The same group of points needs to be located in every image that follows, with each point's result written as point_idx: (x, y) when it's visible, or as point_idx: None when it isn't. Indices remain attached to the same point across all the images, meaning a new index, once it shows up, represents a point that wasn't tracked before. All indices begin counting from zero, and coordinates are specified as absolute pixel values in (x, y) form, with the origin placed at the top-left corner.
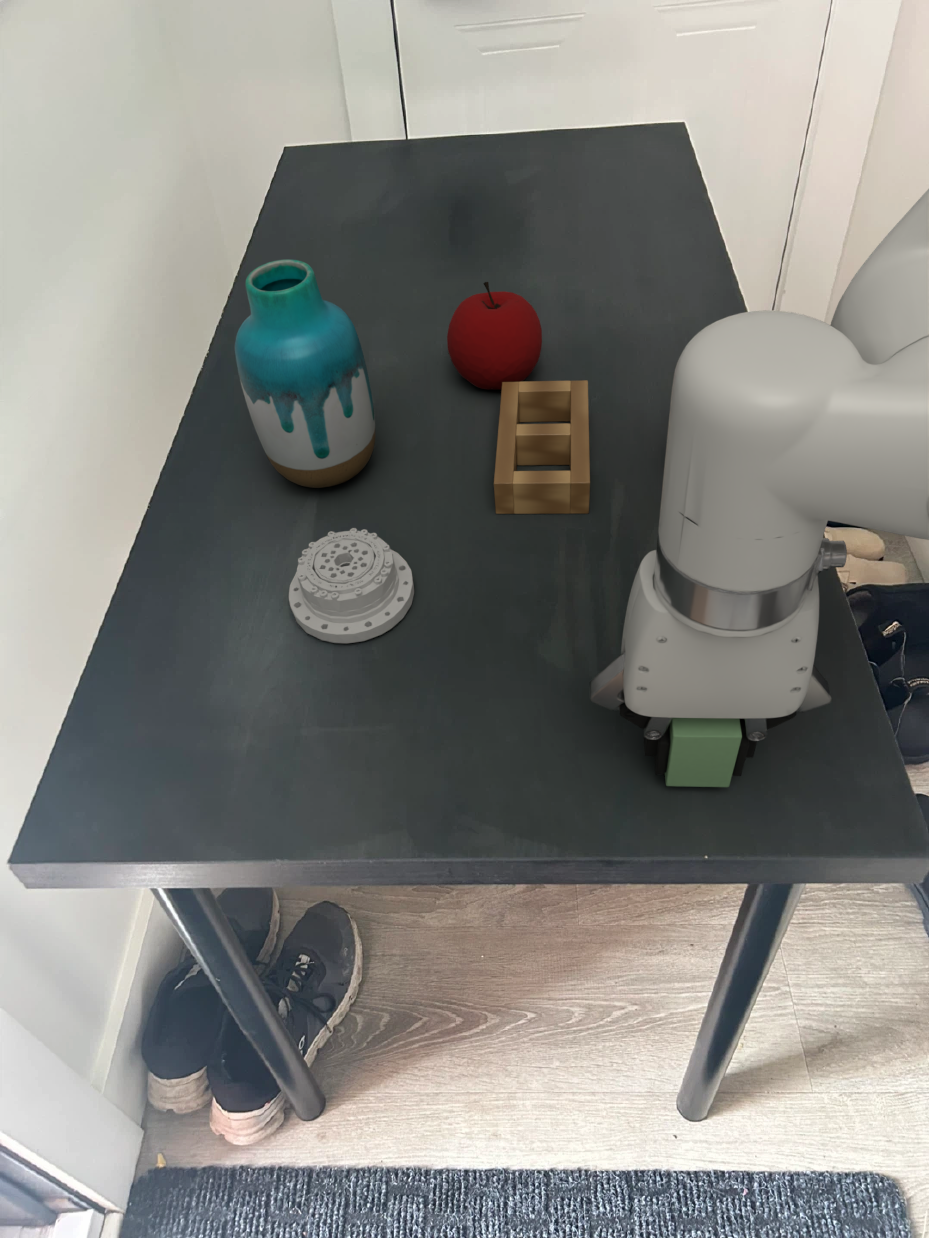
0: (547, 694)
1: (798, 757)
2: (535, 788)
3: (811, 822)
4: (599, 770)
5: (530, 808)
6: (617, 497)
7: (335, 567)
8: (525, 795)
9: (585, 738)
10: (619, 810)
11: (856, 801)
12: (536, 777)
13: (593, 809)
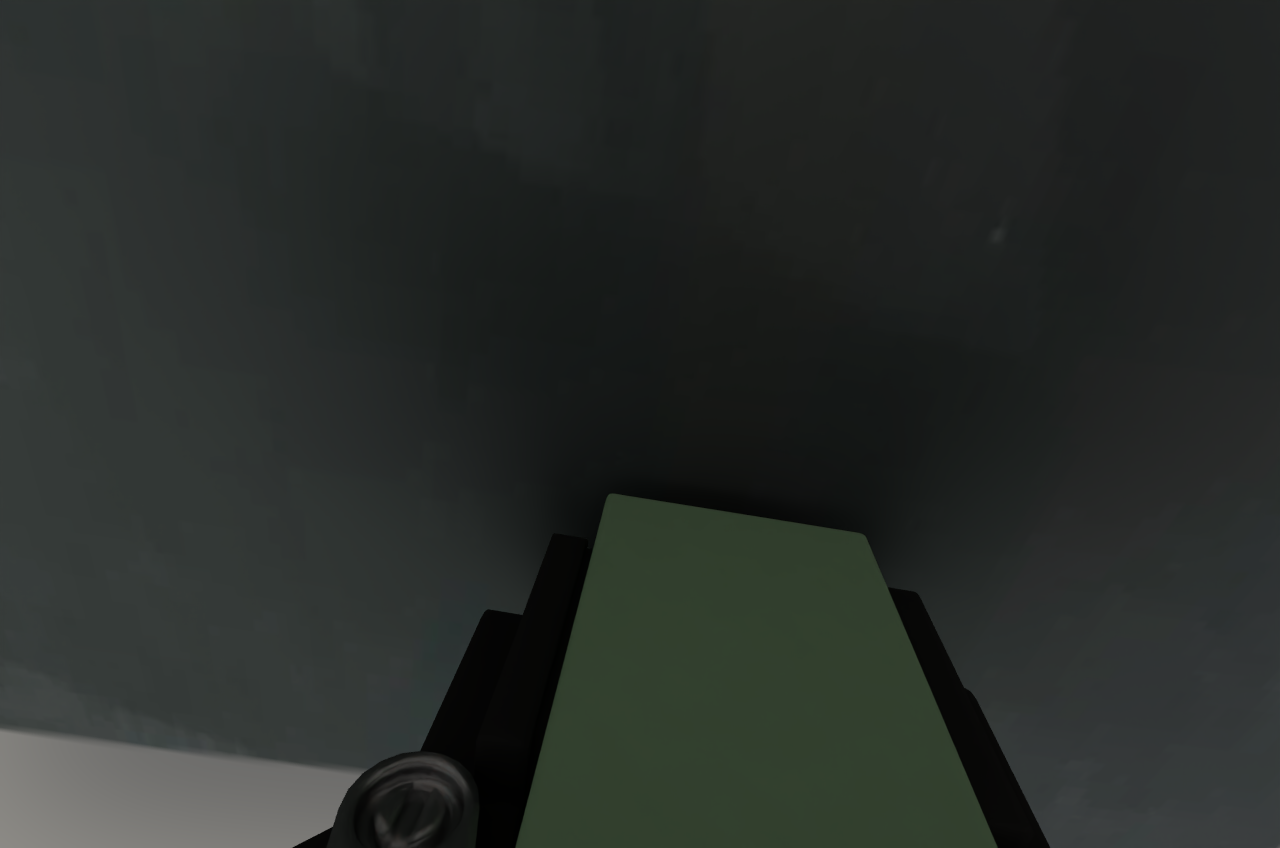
0: (117, 148)
1: (1124, 587)
2: (148, 576)
3: (1027, 783)
4: (369, 543)
5: (144, 636)
6: None
7: None
8: (119, 595)
9: (312, 407)
10: (433, 678)
11: (1216, 748)
12: (144, 539)
13: (349, 664)
